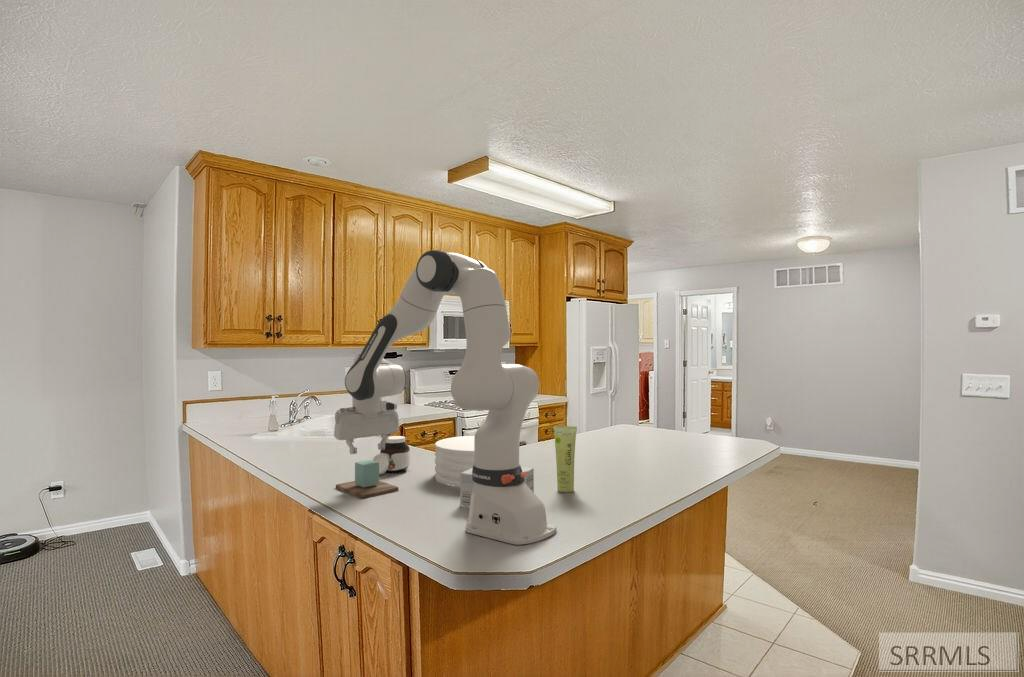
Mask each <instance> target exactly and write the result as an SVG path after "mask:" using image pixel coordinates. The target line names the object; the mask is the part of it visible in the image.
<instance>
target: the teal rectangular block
mask: <svg viewBox="0 0 1024 677" xmlns="http://www.w3.org/2000/svg"><path fill="white" fill-rule="evenodd" d="M354 481H355V484H356V485H358V486H361V487H363V488H364V487H368V486H373V485H378V484H379V481H380V475H379V462H376V461H373V459H367V460H362V461H357V462H356V461H355V463H354Z"/></svg>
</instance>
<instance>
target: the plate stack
mask: <svg viewBox="0 0 1024 677" xmlns="http://www.w3.org/2000/svg"><path fill="white" fill-rule="evenodd" d="M474 437H475V435H464V436H463V435H460V436H454V437H453V436H452V437H447V438H443V439H439V440H437V441H435V444H434V448H435V452H434V456H435V459H434V464H435V465H434V472H435V474H434V479H435V481H436V480H438V481H439V482H438V481H437V482H438V483H440V482H442V483H445V484H449V485H454V486H453V487H455V486H460V473H462V472H464V471H466V470H468V469H471V468H473V465H474ZM442 483H441V484H442ZM445 484H444V485H445ZM449 485H448V486H449Z"/></svg>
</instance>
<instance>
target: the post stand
mask: <svg viewBox="0 0 1024 677" xmlns="http://www.w3.org/2000/svg"><path fill="white" fill-rule="evenodd" d="M335 488H336V489H338V490H340V491H342V492H345V493H347V494H350V495H352V496H354V497H357V498H360V499H366V498H372V497H377V496H381V495H384V494H389V493H393V492H398V491H399V487H398V486H395V485H393V484H390V483H388V482H385V481H382V480H379V484H378V485H373V486H368V487H364V488H363V487H361V486H358V485H356V484H355V480H353V481H347V482H343V483H339V484H335Z"/></svg>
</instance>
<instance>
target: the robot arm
mask: <svg viewBox="0 0 1024 677" xmlns="http://www.w3.org/2000/svg"><path fill="white" fill-rule="evenodd" d="M446 295H450V296H452V297H453V296H454V297H459V298H460V301H461V308H462V316H463V321H464V330H465V339H466V340H465V341H466V348H465V354H464V358H463V361H462V364H461V366H460V368H459V369H458V370H457V371H456V372H455V374H454V375H453V377H452V379H451V380H452V381H451V383H450V393H451V397H452V399H453V401H454V403H455V404H456V406H458V407H459V408H461V409H463V410H467V411H468V410H469V411H476V412H484V411H488V413H487V415H486V418H485V420H484V422H483V424H481V425H480V426H479V427H478V429H477V430H476V432H475V433H474V436H475V437H474V465H473V470H472V480H473V481H474V486H473V491H472V494H471V501H470V507H469V512H468V519H467V522H466V523H467V524H466V525H465V532H466V533H468V534H472V535H476V536H479V537H480V536H481V537H483V538H487V539H491V540H496V541H499V542H503V543H508V544H511V545H514V546H515V545H517V546H519V545H527V544H532V543H533V544H534V543H537V542H540V541H541V540H544V539H547V538H550V537H551V536H553V535H554V534H555V533H556V532H557V525H555V524H553V523H550V522H549V521H547V513H546V508H545V505H544V503H543V502H542V500H541V499H540V498H539V497H538V496H537V495H536V494H535V492H534V493H533V492H532V491H531V489H530V488H529V487H528V486H527V485H526V484H525V482H524V481H525V479H524V477H525V476H528V475H524V474H526V473H527V471H525V472H522V469H521V467H522V466H521V464H520V442H521V441H520V440H521V439H520V438H521V430H522V427H523V423H524V420H525V416H526V414H527V411H528V409H529V407H530V405H531V403H532V402H533V401H534V400H535V399H536V398H537V396H538V394H539V392H540V379H539V377H538V374H537V373H536V371H535V370H534V369H532V368H531V367H529V366H527V365H526V366H525V365H522V364H517V363H504V364H503V363H502V351H503V349H504V347H505V346H506V345H507V344H508V343H509V342H510V339H511V334H512V333H511V328H510V323H509V317H508V316H509V315H508V310H507V304H506V299H505V295H504V292H503V288H502V285H501V283H500V279H499V276H498V275H497V273H496V272H495V271H494V270H492V269H490V268H488V266H487V265H486V264H485V263H484V262H482V261H480V260H478V259H476V258H471V257H468V256H466V255H463V254H460V253H457V252H453V251H452V252H451V251H444V250H442V249H436V250H435V249H432V250H428V251H425V252H423V254H421V255H420V257H419V258H418V260H417V262H416V267H415V268H414V269H413V271H412V272H411V274H410V275H409V277H408V278H407V280H406V282H405V283H404V286H403V288H402V290H401V293H400V296H399V298H398V299H397V301H396V303H395V305H394V306H393V307H392V308H391V310H390V311H389V312H388V313H386V315H385V316H383V317H382V318H381V320H379V322H378V323H377V324H376V325H375V328H374V330H373V331H372V333H371V335H370V337H369V338H368V340H367V342H366V343H365V346H364V347H363V349H362V351H361V352H360V354H357V355H356V356H355V357H354V360H353V364H352V365H351V366H350V368H349V370H347V372H346V374H345V377H344V386H345V389H346V392H348V394H349V395H350V396H351V397H352V404H351V405H352V406H351V407H342V408H341V407H340V408H339V409H338V410H337V411H335V413H334V421H335V422H334V429H333V430H334V431H333V437H334V439H336V440H338V441H345V443H346V445H347V447H348V449H349V454H350V455H357V453H358V447H355V446H354V444H353V443H355V442H354V440H355V439H356V440H357V439H362V438H363V439H364V438H369V437H378V436H380V438H381V441H380V442H379V443H377V449H378V450H380V451H381V450H383V449H385V443H386V441H387V439H388V437H389V435H392V434H393V435H394V434H397V433H398V431H399V429H400V420H399V413H398V411H396V410H397V409H398V405H397V403H395V402H393V401H388V400H385V399H383V397H384V398H385V397H391V396H392V397H393V396H397V395H399V394H401V393H402V392H403V391H404V390H405V388H406V386H407V374H406V371H405V369H404V368H403V366H401V365H400V364H396V363H393V362H391V361H389V360H387V359H385V358H384V357H385V356H386V354H387V352H388V351H389V349H390V348H391V346H392V345H394V344H395V343H396V342H398V341H399V340H401V339H403V338H406V337H410V336H412V335H415V334H419V333H422V332H423V331H425V330H427V329H428V328H429V327H430V325H431V324H432V323H433V321H434V319H435V317H436V314H437V312H438V309H439V307H440V305H441V302H442V300H443V298H444V297H445V296H446Z"/></svg>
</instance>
